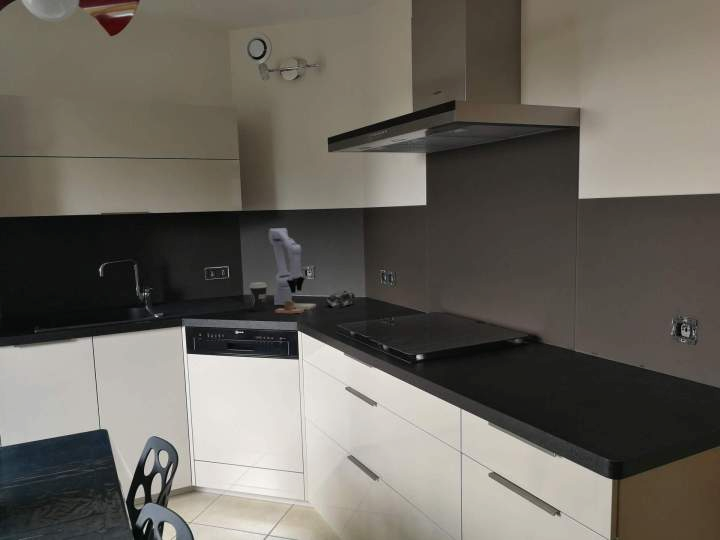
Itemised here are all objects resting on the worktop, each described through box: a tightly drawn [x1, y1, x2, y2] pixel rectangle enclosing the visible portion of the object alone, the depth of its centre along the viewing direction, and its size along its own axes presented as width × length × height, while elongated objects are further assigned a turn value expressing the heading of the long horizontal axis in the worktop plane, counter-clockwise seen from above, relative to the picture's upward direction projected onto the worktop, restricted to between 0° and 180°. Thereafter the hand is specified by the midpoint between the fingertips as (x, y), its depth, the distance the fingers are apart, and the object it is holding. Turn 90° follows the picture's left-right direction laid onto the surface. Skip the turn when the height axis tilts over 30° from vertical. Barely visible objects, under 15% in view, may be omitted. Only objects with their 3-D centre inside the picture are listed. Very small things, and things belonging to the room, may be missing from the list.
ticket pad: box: [294, 302, 317, 310], centre depth 314 cm, size 14×9×2 cm, turn 72°
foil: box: [325, 290, 356, 308], centre depth 316 cm, size 12×11×15 cm
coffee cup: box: [248, 281, 268, 313], centre depth 307 cm, size 10×10×15 cm
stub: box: [274, 300, 305, 314], centre depth 299 cm, size 14×5×6 cm, turn 72°
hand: (296, 291), depth 312 cm, fingers open, 7 cm apart
